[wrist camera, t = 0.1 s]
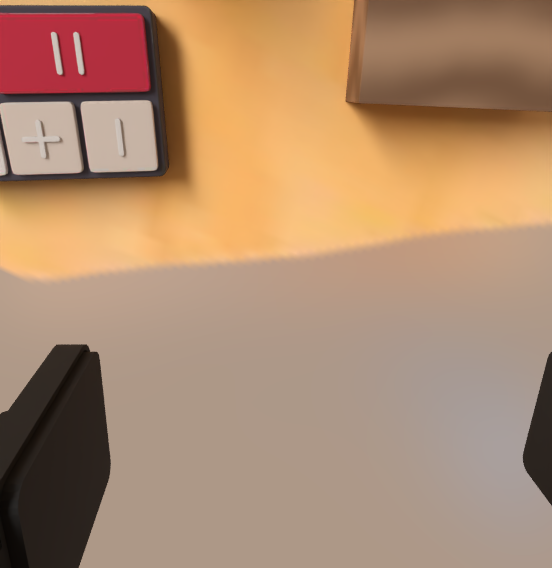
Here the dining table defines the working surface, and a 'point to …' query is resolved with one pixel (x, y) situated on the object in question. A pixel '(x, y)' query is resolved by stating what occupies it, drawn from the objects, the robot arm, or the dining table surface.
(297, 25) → the dining table surface
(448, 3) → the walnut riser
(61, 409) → the robot arm
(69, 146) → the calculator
